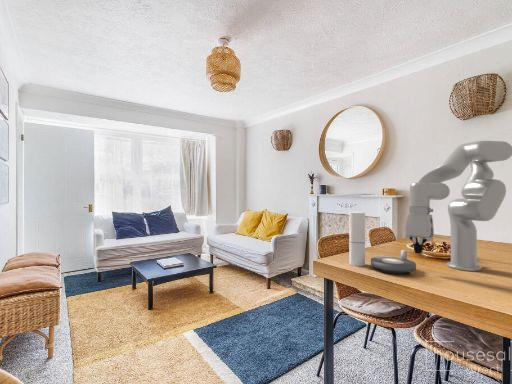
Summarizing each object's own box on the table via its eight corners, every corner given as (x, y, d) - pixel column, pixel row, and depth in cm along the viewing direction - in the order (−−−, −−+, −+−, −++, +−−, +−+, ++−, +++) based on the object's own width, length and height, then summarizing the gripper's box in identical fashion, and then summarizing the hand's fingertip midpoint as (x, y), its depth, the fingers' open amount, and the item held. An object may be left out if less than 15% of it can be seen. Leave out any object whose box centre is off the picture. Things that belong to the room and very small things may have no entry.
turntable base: (390, 265, 128) (390, 261, 128) (414, 271, 117) (414, 268, 117) (372, 268, 123) (372, 264, 123) (395, 275, 112) (395, 271, 112)
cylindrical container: (362, 262, 133) (362, 211, 134) (367, 266, 126) (366, 212, 126) (347, 262, 134) (347, 211, 134) (351, 265, 127) (351, 212, 127)
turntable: (389, 259, 132) (389, 247, 132) (425, 268, 116) (425, 254, 116) (362, 263, 125) (362, 250, 125) (396, 273, 108) (396, 258, 108)
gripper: (442, 211, 114) (441, 255, 114) (404, 209, 126) (403, 249, 125) (435, 212, 109) (434, 257, 109) (397, 209, 121) (396, 250, 121)
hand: (418, 253), depth 117 cm, fingers closed
